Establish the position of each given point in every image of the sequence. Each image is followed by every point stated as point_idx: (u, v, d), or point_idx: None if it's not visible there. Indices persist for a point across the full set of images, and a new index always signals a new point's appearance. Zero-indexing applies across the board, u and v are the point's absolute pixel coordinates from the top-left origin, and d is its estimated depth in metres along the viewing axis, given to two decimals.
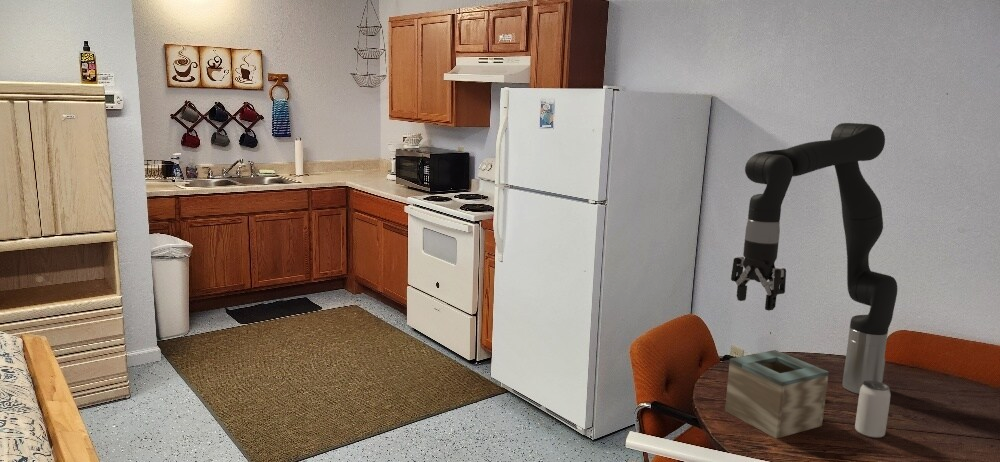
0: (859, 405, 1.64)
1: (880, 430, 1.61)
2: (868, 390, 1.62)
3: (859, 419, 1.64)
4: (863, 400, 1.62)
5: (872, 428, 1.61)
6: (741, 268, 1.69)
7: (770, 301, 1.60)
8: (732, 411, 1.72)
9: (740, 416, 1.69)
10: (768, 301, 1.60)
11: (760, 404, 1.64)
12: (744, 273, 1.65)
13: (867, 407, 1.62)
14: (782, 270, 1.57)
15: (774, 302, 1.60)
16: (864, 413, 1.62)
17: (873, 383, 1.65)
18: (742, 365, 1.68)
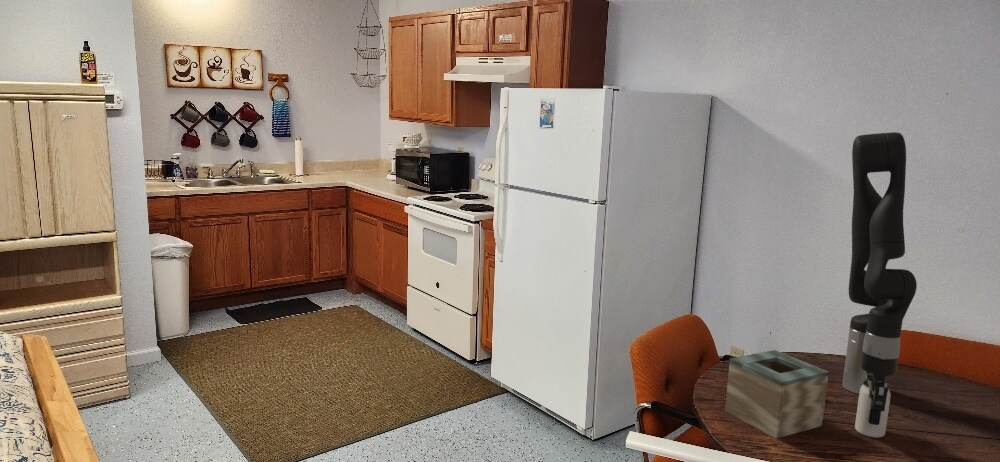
0: (859, 405, 1.64)
1: (880, 430, 1.61)
2: (868, 390, 1.62)
3: (859, 419, 1.64)
4: (863, 400, 1.62)
5: (872, 428, 1.61)
6: None
7: None
8: (732, 411, 1.72)
9: (740, 416, 1.69)
10: None
11: (760, 404, 1.64)
12: None
13: (867, 407, 1.62)
14: None
15: None
16: (864, 413, 1.62)
17: None
18: (742, 365, 1.68)
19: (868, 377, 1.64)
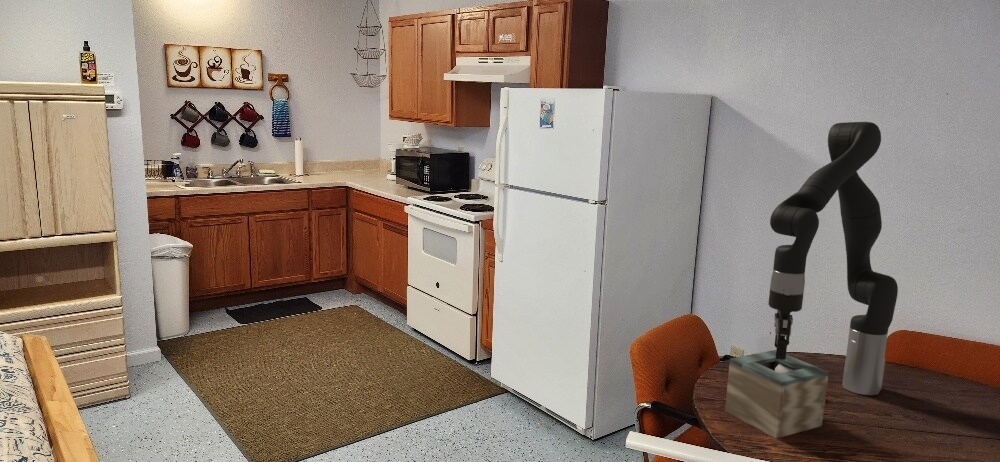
0: None
1: None
2: (782, 368, 1.69)
3: None
4: None
5: None
6: None
7: None
8: (732, 411, 1.72)
9: (740, 416, 1.69)
10: None
11: (760, 404, 1.64)
12: None
13: None
14: None
15: None
16: None
17: (787, 366, 1.72)
18: (742, 365, 1.68)
19: (776, 315, 1.67)
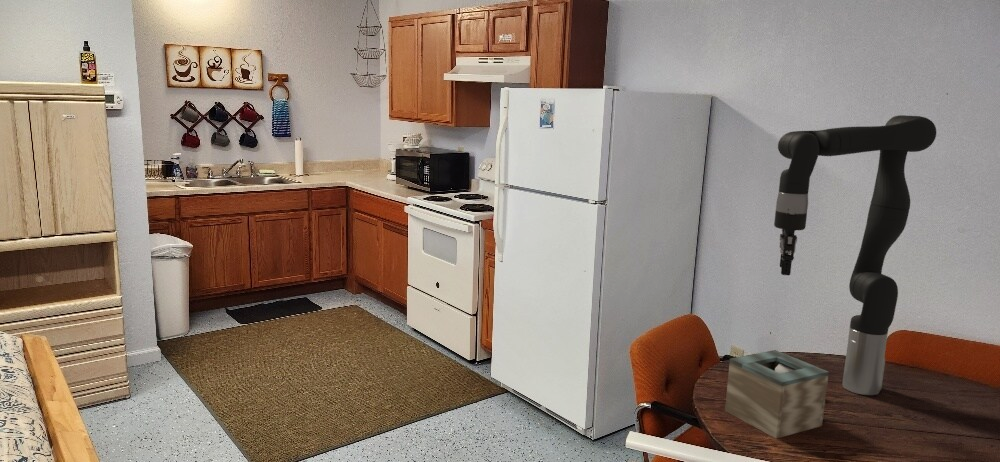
0: None
1: None
2: (782, 368, 1.69)
3: None
4: None
5: None
6: None
7: None
8: (732, 411, 1.72)
9: (740, 416, 1.69)
10: None
11: (760, 404, 1.64)
12: (795, 246, 1.75)
13: None
14: None
15: None
16: None
17: (787, 366, 1.72)
18: (742, 365, 1.68)
19: (781, 236, 1.79)
